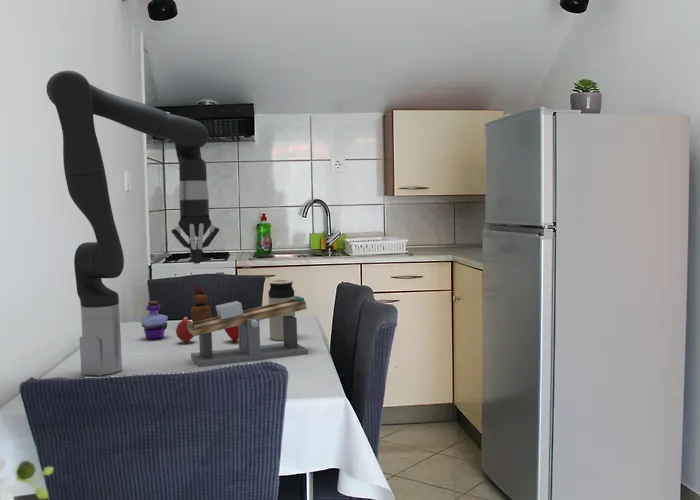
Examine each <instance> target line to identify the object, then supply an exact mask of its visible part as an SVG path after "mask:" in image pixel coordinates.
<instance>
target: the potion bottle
mask: <svg viewBox="0 0 700 500" xmlns="http://www.w3.org/2000/svg"><path fill="white" fill-rule="evenodd" d="M159 303H160V302H159V301H158V300H152V301H147V305H146V311H148V315H145V316H142V317H140V318H139V320H140V323H141V327H142V328H143V332H144V336H145V339H148V340H147V341H158V340H159V341H160V340H163V339H164V338H165V337H164V335H165V331H166V329H167V328H168V319H169V316H168V315H165V314H160V313H159V310H162V309H161V308H162V305H161V304H159Z"/></svg>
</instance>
